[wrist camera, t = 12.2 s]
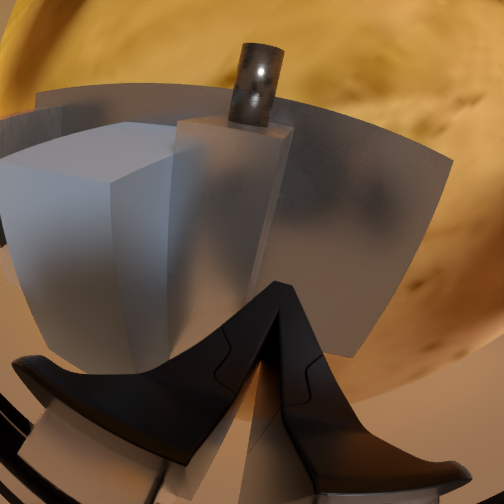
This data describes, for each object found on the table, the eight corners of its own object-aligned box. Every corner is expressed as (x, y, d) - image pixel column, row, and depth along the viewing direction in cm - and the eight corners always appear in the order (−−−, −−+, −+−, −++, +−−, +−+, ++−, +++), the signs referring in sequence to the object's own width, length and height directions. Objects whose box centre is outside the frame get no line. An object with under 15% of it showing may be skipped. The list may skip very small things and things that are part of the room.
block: (227, 134, 10) (109, 183, 4) (205, 291, 14) (145, 402, 8) (124, 121, 10) (-8, 162, 5) (125, 264, 15) (49, 349, 9)
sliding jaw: (308, 68, 8) (305, 38, 4) (239, 348, 16) (219, 409, 12) (241, 56, 8) (194, 27, 4) (200, 336, 16) (172, 393, 12)
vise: (443, 155, 9) (533, 207, 4) (351, 345, 15) (353, 437, 10) (47, 91, 11) (-34, 110, 6) (57, 251, 17) (3, 297, 12)
